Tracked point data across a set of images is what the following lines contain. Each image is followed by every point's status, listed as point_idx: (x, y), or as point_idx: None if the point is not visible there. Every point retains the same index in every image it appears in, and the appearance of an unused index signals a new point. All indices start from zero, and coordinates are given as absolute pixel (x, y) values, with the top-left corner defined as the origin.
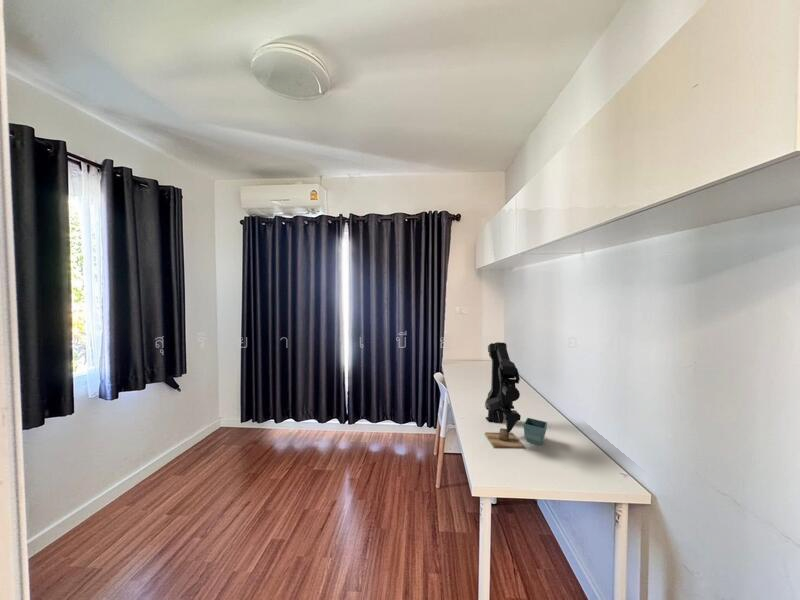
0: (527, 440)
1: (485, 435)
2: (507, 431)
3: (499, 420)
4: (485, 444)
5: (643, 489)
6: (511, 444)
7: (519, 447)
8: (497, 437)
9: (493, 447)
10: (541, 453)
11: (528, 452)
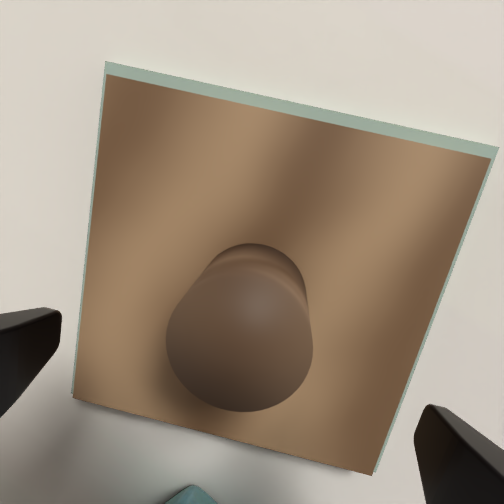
0: (177, 497)
1: (440, 144)
2: (27, 312)
3: (460, 436)
4: (244, 31)
5: None
6: (121, 300)
7: (82, 349)
8: (307, 244)
9: (127, 75)
10: (17, 464)
11: (37, 380)
